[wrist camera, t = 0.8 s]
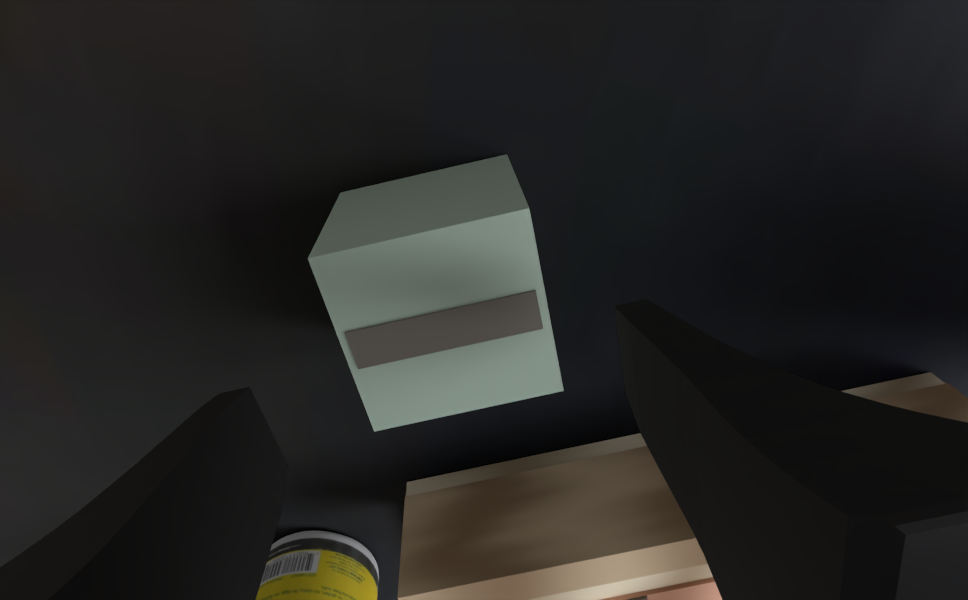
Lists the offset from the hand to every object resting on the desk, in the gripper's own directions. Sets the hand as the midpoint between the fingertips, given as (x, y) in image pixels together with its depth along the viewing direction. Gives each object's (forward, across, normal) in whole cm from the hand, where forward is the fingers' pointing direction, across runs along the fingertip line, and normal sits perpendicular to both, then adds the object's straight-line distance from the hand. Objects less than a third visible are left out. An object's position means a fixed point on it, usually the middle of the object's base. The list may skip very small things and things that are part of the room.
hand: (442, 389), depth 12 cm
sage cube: (+7, 0, 0) cm, 7 cm away
